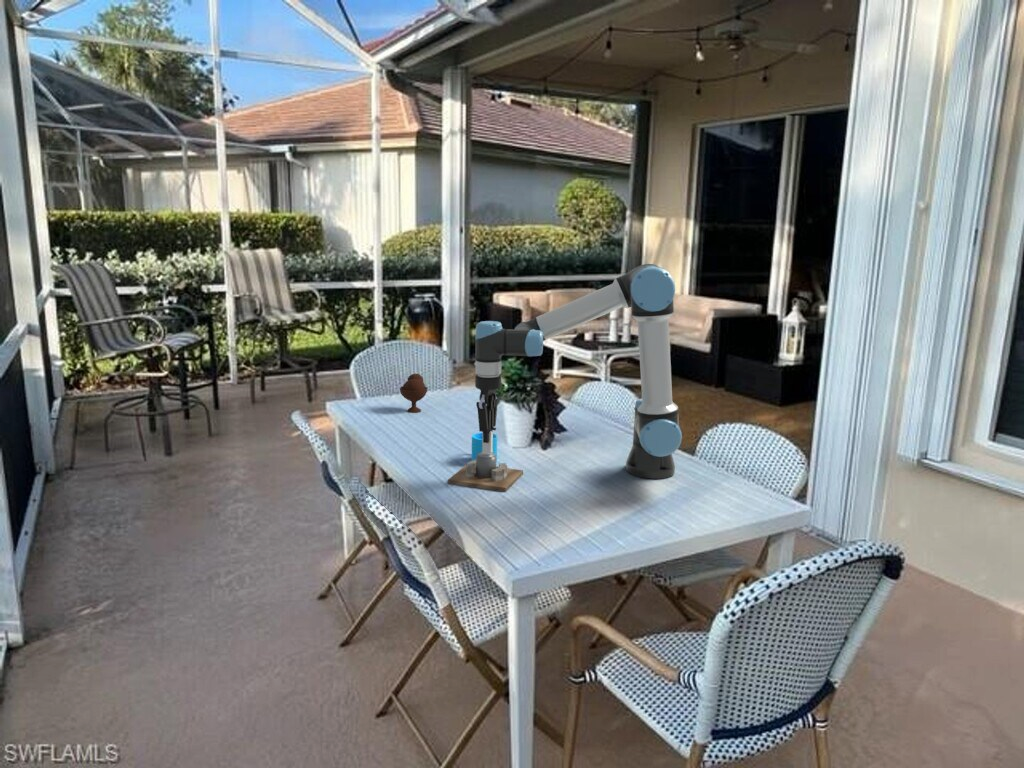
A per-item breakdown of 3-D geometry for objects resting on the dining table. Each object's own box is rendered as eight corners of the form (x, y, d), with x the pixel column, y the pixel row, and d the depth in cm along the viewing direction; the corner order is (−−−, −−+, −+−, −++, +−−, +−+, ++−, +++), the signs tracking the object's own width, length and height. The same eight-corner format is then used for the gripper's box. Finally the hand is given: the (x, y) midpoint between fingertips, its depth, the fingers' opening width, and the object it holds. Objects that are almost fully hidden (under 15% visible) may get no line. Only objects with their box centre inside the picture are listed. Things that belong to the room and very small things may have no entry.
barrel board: (523, 474, 229) (523, 461, 228) (505, 491, 214) (506, 477, 213) (468, 466, 234) (468, 453, 233) (448, 483, 219) (448, 469, 218)
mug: (500, 462, 239) (501, 438, 237) (477, 465, 235) (477, 441, 233) (486, 451, 249) (486, 428, 247) (463, 454, 246) (463, 430, 244)
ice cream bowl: (397, 408, 300) (397, 372, 297) (425, 406, 304) (425, 370, 300) (402, 415, 290) (401, 377, 287) (430, 413, 294) (430, 376, 290)
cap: (498, 472, 226) (499, 452, 224) (491, 479, 220) (492, 458, 219) (480, 470, 227) (480, 450, 226) (472, 476, 222) (473, 456, 220)
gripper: (484, 369, 224) (483, 444, 229) (467, 378, 212) (467, 457, 217) (507, 371, 222) (506, 447, 227) (492, 380, 210) (491, 460, 215)
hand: (487, 452), depth 222 cm, fingers closed
